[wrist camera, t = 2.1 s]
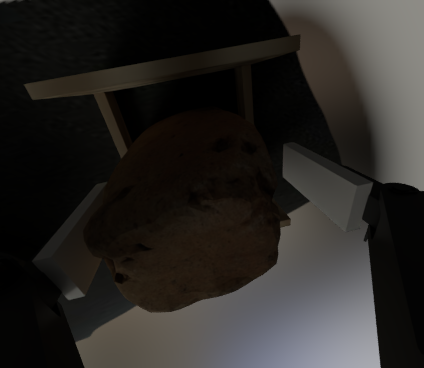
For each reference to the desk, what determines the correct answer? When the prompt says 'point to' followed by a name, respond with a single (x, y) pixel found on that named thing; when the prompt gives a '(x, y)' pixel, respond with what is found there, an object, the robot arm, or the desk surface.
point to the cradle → (165, 71)
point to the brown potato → (188, 211)
